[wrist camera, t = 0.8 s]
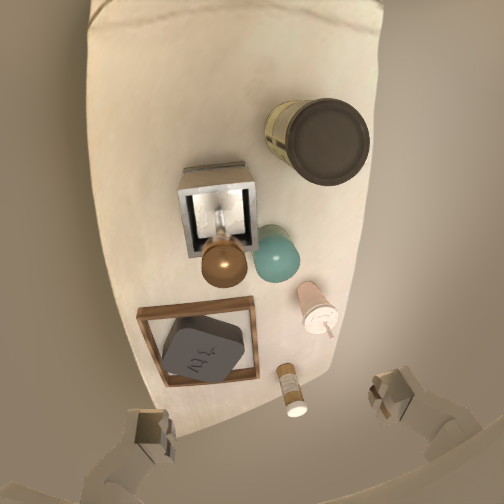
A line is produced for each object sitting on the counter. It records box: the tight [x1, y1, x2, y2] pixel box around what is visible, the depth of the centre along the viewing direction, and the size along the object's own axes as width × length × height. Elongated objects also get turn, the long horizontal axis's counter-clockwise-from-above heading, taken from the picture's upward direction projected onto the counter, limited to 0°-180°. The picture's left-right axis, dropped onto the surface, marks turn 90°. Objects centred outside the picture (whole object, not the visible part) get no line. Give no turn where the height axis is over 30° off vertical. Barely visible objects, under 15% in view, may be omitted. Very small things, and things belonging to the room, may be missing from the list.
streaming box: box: [162, 315, 245, 383], centre depth 58 cm, size 14×14×5 cm
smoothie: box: [297, 282, 338, 340], centre depth 51 cm, size 6×6×14 cm
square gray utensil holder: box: [178, 161, 259, 258], centre depth 40 cm, size 9×9×12 cm
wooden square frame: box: [136, 296, 260, 387], centre depth 59 cm, size 23×23×3 cm
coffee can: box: [264, 98, 370, 186], centre depth 36 cm, size 10×10×14 cm
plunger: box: [192, 189, 248, 288], centre depth 32 cm, size 6×6×14 cm
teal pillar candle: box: [251, 225, 300, 283], centre depth 48 cm, size 7×7×7 cm
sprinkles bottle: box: [277, 364, 307, 417], centre depth 62 cm, size 5×5×14 cm
